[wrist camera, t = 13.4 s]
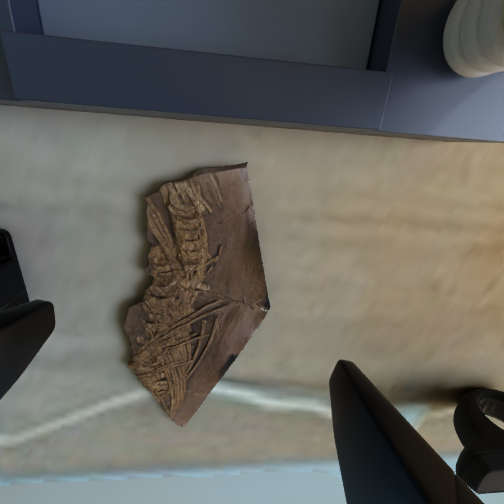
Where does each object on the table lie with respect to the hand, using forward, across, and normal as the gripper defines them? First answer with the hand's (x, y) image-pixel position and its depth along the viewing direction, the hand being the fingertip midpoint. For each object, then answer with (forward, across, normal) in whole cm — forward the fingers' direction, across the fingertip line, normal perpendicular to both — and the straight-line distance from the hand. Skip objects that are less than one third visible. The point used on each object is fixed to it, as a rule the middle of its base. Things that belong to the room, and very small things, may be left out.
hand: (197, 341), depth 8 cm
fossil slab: (+12, +2, +9) cm, 15 cm away
